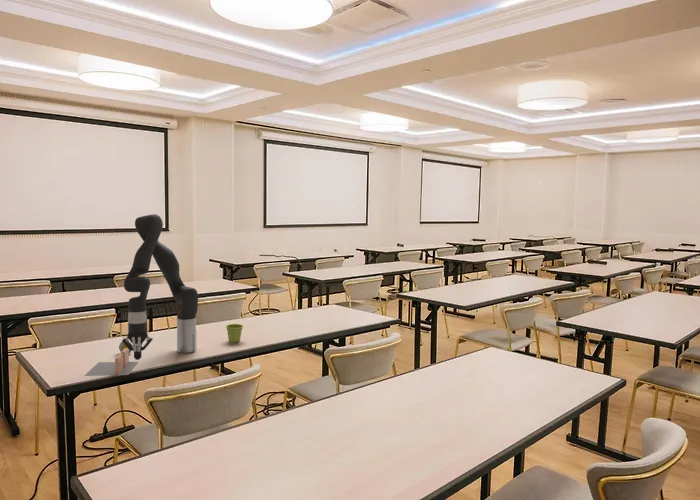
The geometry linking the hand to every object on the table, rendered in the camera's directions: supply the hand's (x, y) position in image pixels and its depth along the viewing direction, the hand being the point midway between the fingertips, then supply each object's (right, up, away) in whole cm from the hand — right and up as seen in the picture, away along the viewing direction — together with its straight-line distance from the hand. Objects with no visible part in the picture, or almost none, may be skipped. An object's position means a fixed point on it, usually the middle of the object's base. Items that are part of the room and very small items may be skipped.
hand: (137, 359), depth 223 cm
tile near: (-8, -5, -1) cm, 10 cm away
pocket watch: (-16, -4, +22) cm, 28 cm away
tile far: (-9, -4, +8) cm, 13 cm away
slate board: (-13, -6, +3) cm, 14 cm away
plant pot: (+30, -2, +56) cm, 63 cm away
